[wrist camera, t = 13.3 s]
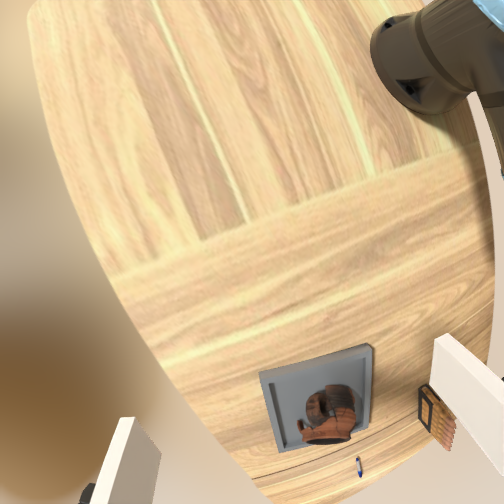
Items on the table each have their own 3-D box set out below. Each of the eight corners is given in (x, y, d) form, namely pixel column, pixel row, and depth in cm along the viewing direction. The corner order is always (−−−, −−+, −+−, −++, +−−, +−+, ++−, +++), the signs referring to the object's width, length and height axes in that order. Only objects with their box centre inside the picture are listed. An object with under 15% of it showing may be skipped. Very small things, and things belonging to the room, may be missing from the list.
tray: (366, 342, 39) (372, 349, 37) (364, 420, 43) (368, 427, 41) (258, 371, 39) (259, 379, 37) (277, 444, 43) (279, 452, 41)
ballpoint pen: (362, 474, 50) (363, 477, 49) (358, 476, 50) (360, 479, 49) (357, 456, 47) (359, 460, 46) (353, 458, 47) (355, 461, 46)
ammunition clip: (425, 414, 46) (453, 450, 34) (418, 418, 46) (445, 455, 34) (426, 383, 43) (460, 422, 31) (418, 388, 43) (452, 428, 31)
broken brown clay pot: (363, 393, 41) (365, 440, 35) (312, 404, 46) (311, 448, 40) (334, 370, 35) (335, 429, 29) (275, 383, 40) (270, 436, 34)
